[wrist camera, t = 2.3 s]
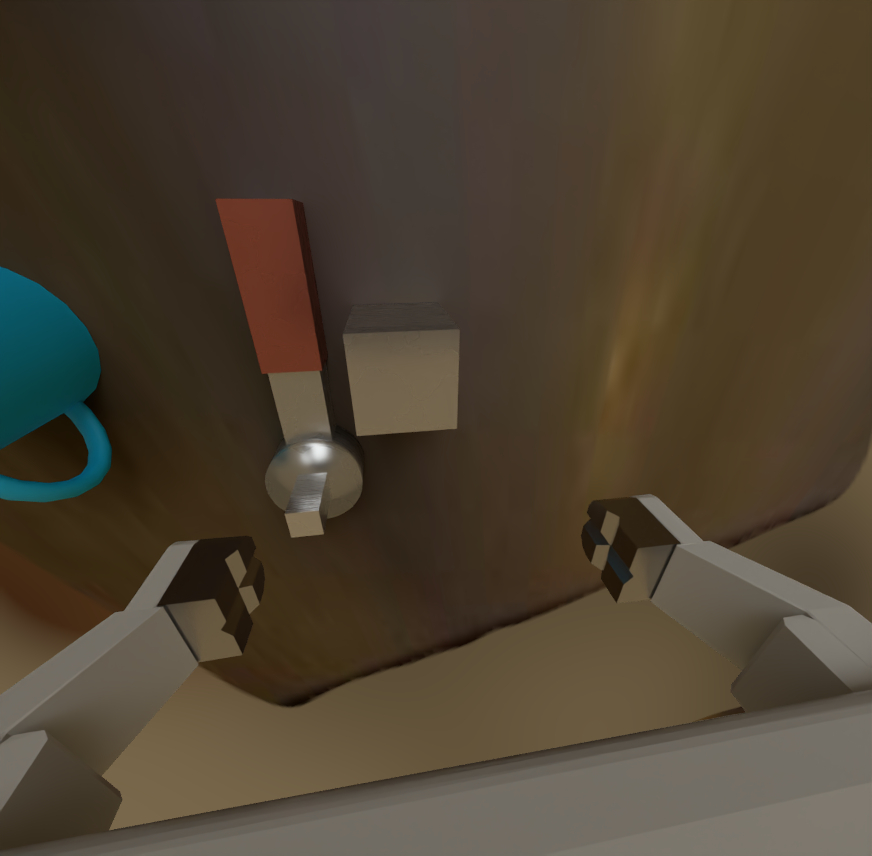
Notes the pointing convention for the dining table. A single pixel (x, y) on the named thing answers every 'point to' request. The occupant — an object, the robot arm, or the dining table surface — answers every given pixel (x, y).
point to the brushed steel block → (402, 367)
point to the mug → (46, 382)
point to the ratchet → (292, 361)
